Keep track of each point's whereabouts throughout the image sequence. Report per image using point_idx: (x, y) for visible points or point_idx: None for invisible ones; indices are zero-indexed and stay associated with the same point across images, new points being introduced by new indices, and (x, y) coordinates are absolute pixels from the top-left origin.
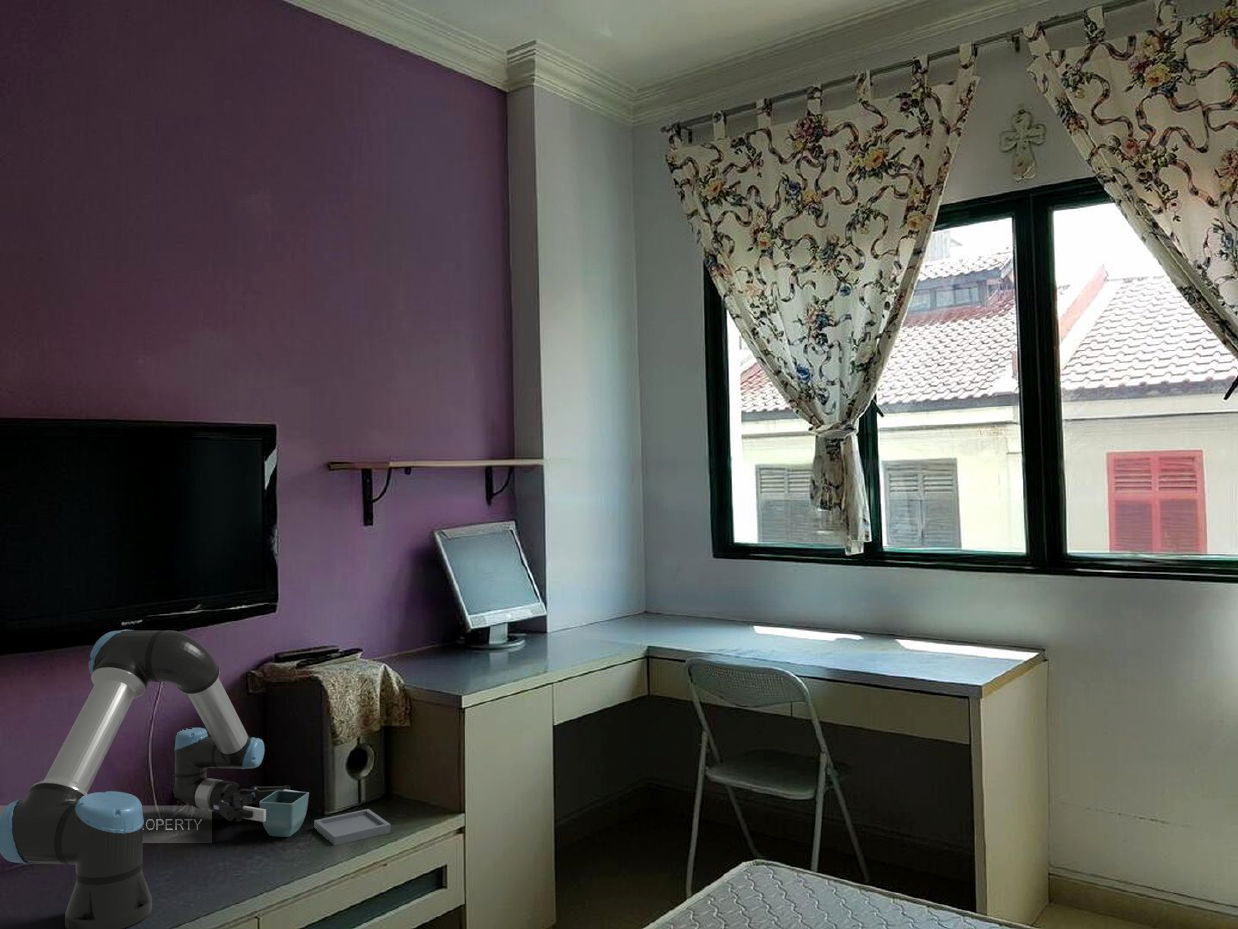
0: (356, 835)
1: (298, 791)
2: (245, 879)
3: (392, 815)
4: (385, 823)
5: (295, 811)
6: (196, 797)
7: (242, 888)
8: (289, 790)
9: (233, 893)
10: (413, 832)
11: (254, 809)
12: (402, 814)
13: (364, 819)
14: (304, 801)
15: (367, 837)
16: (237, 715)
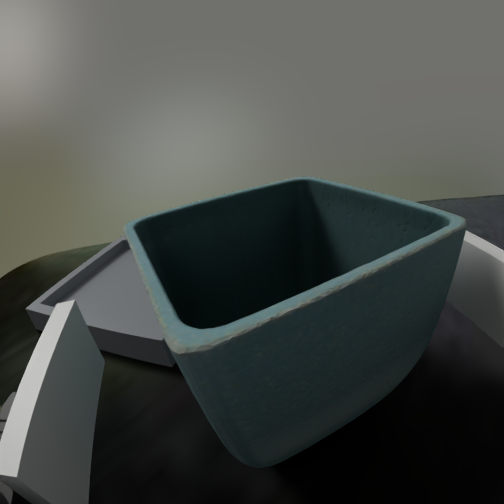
0: None
1: (38, 341)
2: (470, 225)
3: (26, 304)
4: (119, 240)
5: (279, 232)
6: None
7: (472, 212)
8: (14, 415)
9: (483, 208)
10: None
11: (488, 244)
12: (21, 297)
13: (80, 295)
14: (188, 237)
15: None
16: None
